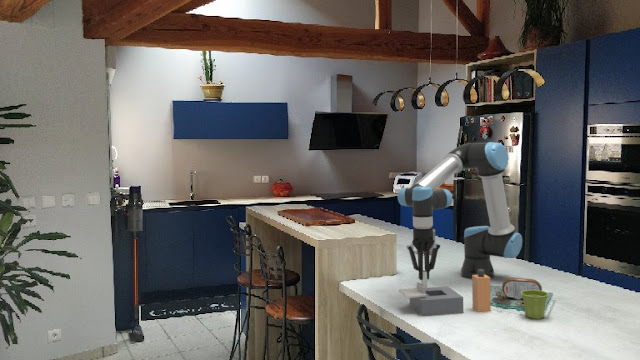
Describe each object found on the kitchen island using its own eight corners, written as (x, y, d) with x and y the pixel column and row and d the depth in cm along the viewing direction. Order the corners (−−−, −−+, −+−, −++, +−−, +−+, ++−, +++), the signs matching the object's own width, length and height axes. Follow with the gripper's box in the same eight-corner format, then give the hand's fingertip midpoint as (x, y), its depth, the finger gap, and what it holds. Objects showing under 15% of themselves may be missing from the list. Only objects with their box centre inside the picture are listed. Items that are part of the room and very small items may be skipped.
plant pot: (517, 312, 209) (517, 289, 209) (543, 312, 209) (542, 289, 208) (525, 321, 200) (525, 297, 199) (552, 320, 200) (552, 296, 199)
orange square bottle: (484, 307, 217) (484, 267, 216) (490, 311, 212) (490, 270, 211) (472, 308, 216) (472, 268, 215) (477, 312, 212) (477, 271, 210)
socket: (448, 300, 227) (447, 286, 227) (463, 312, 211) (463, 297, 211) (409, 303, 225) (409, 289, 225) (422, 316, 209) (422, 300, 209)
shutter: (418, 289, 222) (418, 281, 222) (426, 296, 212) (426, 288, 212) (398, 291, 221) (398, 282, 221) (406, 298, 211) (405, 289, 211)
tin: (541, 299, 225) (541, 278, 224) (542, 301, 222) (542, 280, 221) (502, 297, 230) (502, 276, 229) (502, 299, 227) (501, 278, 226)
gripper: (436, 224, 220) (437, 284, 221) (403, 226, 218) (405, 286, 220) (442, 227, 212) (443, 289, 214) (409, 229, 211) (410, 291, 212)
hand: (424, 287), depth 217 cm, fingers closed
